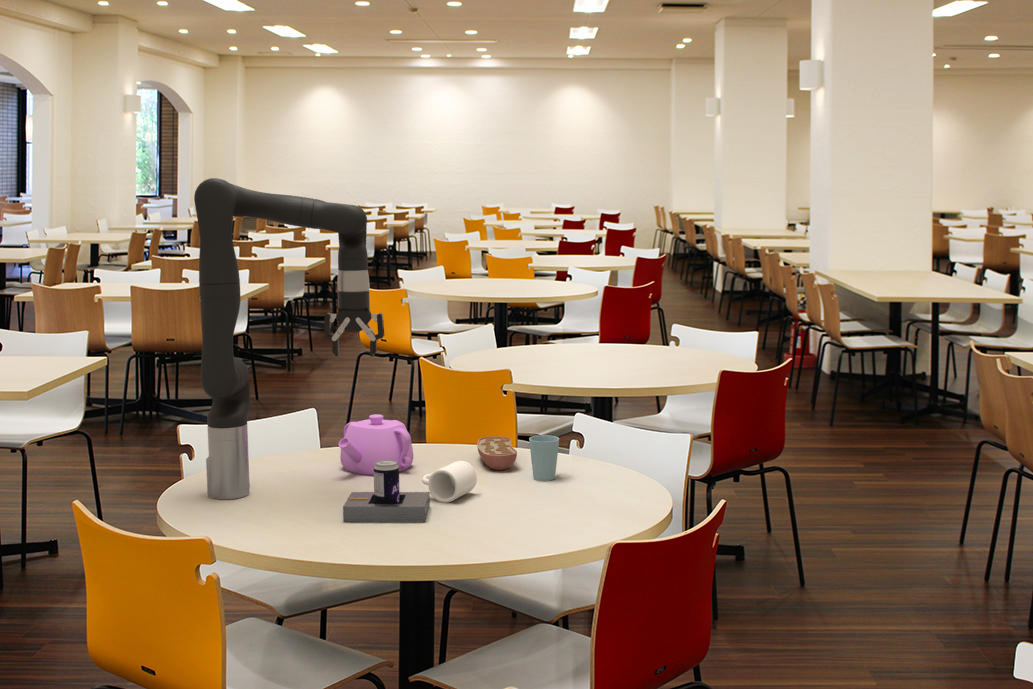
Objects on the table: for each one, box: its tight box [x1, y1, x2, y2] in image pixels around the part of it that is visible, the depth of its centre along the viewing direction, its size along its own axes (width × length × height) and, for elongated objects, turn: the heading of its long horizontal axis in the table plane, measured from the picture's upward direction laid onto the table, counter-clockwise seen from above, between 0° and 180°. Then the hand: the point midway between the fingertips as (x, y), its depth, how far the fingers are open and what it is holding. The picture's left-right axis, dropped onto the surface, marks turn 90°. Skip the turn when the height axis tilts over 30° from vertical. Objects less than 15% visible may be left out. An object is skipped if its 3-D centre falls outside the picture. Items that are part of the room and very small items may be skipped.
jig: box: [342, 491, 431, 523], centre depth 241 cm, size 18×12×4 cm, turn 90°
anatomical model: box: [476, 435, 518, 471], centre depth 289 cm, size 23×10×5 cm, turn 6°
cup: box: [528, 434, 560, 482], centre depth 272 cm, size 8×8×10 cm
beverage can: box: [373, 460, 400, 504], centre depth 241 cm, size 6×6×12 cm
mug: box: [421, 460, 478, 504], centre depth 256 cm, size 12×10×8 cm
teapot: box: [337, 414, 414, 477], centre depth 281 cm, size 19×21×14 cm
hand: (354, 356), depth 258 cm, fingers open, 8 cm apart
